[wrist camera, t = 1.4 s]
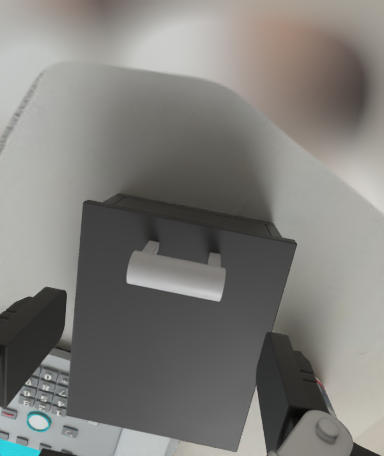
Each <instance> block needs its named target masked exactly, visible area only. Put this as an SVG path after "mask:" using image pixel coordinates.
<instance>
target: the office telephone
mask: <svg viewBox="0 0 384 456" xmlns="http://www.w3.org/2000/svg"><path fill="white" fill-rule="evenodd" d="M70 358H71V353H69V352H66V351H63V350H60V349H56V348H53V349H52V350H51V351H50V353H49V354H48V355H47V357H46V358H45V359H44V360H43V362H42V363H41V364H40V366H39V367H38V368H37V369H36V371H35V372H34V373H33V374H32V376H31V377H30V378H29V380H28V381H27V382H26V383H25V385H24V386H23V387H22V388H21V390H20V391H19V392H18V394H17V395H16V396H15V397H14V399H13V400H12V401H11V403H10V404H9V405H8V406H7V408H3V407H0V456H39V454H40V452H41V450H42V449H43V448H45V449H49V450H54V451H59V452H63V453H68V454H73V455H77V456H173V455H174V453H175V450H176V448H177V446H178V443H179V441H180V440H177V439H172V438H168V437H163V436H158V435H153V434H149V433H144V432H139V431H135V430H130V429H125V428H121V427H116V426H111V425H107V424H102V423H97V422H93V421H88V420H83V419H79V418H74V417H69V416H66V407H67V395H68V383H69V370H70Z"/></svg>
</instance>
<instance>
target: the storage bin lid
mask: <svg viewBox="0 0 384 456" xmlns="http://www.w3.org/2000/svg"><path fill="white" fill-rule="evenodd" d="M296 246H297V243H296V242H295V240H292V239H287V238H281V237H276V236H271V235H266V234H261V233H256V232H251V231H245V230H240V229H235V228H230V227H225V226H220V225H215V224H209V223H204V222H199V221H194V220H189V219H184V218H179V217H173V216H168V215H163V214H158V213H153V212H148V211H143V210H137V209H132V208H127V207H122V206H117V205H112V204H107V203H101V202H96V201H91V200H87V201H85V202H83V211H82V224H81V236H80V248H79V260H78V273H77V285H76V297H75V309H74V321H73V334H72V346H71V358H70V370H69V383H68V395H67V407H66V416H69V417H74V418H79V419H83V420H88V421H93V422H97V423H102V424H107V425H111V426H116V427H121V428H125V429H130V430H135V431H139V432H144V433H149V434H153V435H158V436H163V437H168V438H172V439H177V440H182V441H186V442H191V443H196V444H200V445H205V446H210V447H214V448H219V449H224V450H228V451H233V452H237V449H238V446H239V442H240V439H241V435H242V432H243V428H244V425H245V422H246V418H247V415H248V411H249V408H250V404H251V401H252V398H253V394H254V391H255V387H256V369H257V364H258V360H259V357H260V353H261V350H262V346H263V343H264V339H265V336H266V333H267V332H272V329H273V325H274V322H275V319H276V315H277V312H278V308H279V305H280V301H281V298H282V294H283V291H284V288H285V284H286V281H287V277H288V274H289V270H290V267H291V264H292V260H293V257H294V253H295V250H296Z"/></svg>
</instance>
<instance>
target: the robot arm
mask: <svg viewBox="0 0 384 456" xmlns="http://www.w3.org/2000/svg"><path fill="white" fill-rule="evenodd" d="M66 300H67V293H66V291H65V290H60V289H55V288H50V287H45V288H44V289H42V290H41V291H40V292H39V293H38V294H37V295H35V296H34V297H26V298H24V299H22V300H19V301H17V302H15V303H14V304H13V305H11V306H10V307H9V308H8V309H6V311H4V312H3V313H1V314H0V407H3V408H7V406H8V405H9V404H10V403H11V401H12V400H13V399H14V397H15V396H16V395H17V394H18V392H19V391H20V390H21V388H22V387H23V386H24V385H25V383H26V382H27V381H28V380H29V378H30V377H31V376H32V374H33V373H34V372H35V371H36V369H37V368H38V367H39V366H40V364H41V363H42V362H43V360H44V359H45V358H46V357H47V355H48V354H49V353H50V351H51V350H52V349H53V348H54V346H55V345H56V344H57V343H58V341H59V340H60V338H61V336H62V333H63V330H64V326H65V314H66ZM256 385H257V391H258V398H259V404H260V411H261V418H262V424H263V431H264V437H265V444H266V450H267V455H266V456H380V455H378V454H376V453H374V452H372V451H370V450H368V449H365V448H363V447H361V446H359V445H357V444H356V443H354V442H353V439H352V436H351V434H350V432H349V431H348V429H347V428H346V427H345V426H344V425H343V424H342V423H341V422H340V421H339V420H338V419H336V418H335V417H333V416H332V415H330V412H329V410H328V408H327V405H326V403H325V400H324V398H323V395H322V393H321V390H320V388H319V385H318V384H317V380H316V378H315V375H313V370H312V368H311V365H310V363H309V361H308V360H307V359H306V358H305V357H304V356H303V354H302V353H301V352H300V351H295V350H293V349H292V346H291V343H290V341H289V338H288V336H287V335H283V334H278V333H273V332H267V333H266V336H265V339H264V343H263V346H262V350H261V353H260V357H259V360H258V364H257V369H256ZM39 456H77V455H73V454H68V453H63V452H59V451H54V450H49V449H45V448H43V449H42V450H41V452H40V454H39Z"/></svg>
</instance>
